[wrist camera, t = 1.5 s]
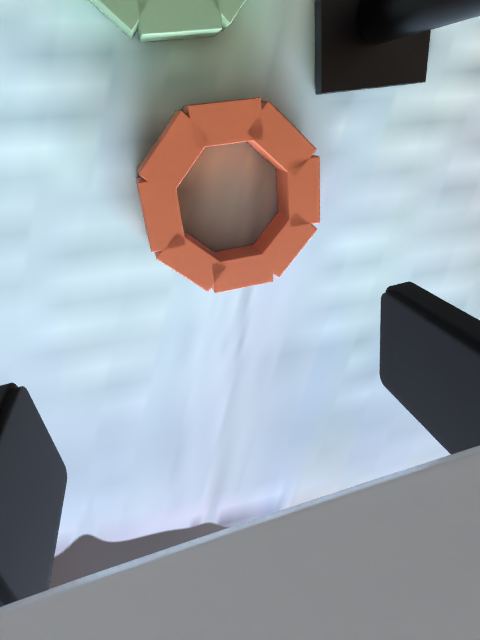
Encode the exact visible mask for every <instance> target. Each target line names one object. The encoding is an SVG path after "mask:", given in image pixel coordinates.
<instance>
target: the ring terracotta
mask: <svg viewBox="0 0 480 640" xmlns="http://www.w3.org/2000/svg"><path fill="white" fill-rule="evenodd" d="M183 111H184V112H183ZM183 111H181V110H180V111H176V112H175V113H174V115H173V116H172V118H171V119H170V121H169V122H168V124H167V125H166V127H165V128H164V130H163V131H162V133H161V134H160V136H159V137H158V139H157V140H156V142H155V143H154V145H153V146H152V148H151V150H150V151H149V153H148V154H147V156H146V157H145V159H144V160H143V162H142V163H141V165H140V166H139V168H138V169H137V171H138V174H139V175H140V176H141V177H137V178H136V182H137V187H138V192H139V197H140V201H141V206H142V211H143V215H144V220H145V225H146V229H147V234H148V239H149V243H150V248H151V252H155V255H156V259H158V260H159V261H161V262H162V263H164V264H165V265H167V266H169V267H170V268H172V269H173V270H175V271H176V272H178V273H179V274H181V275H183V276H184V277H186V278H187V279H189V280H190V281H192V282H193V283H195V284H197V285H198V286H200V287H201V288H203V289H204V290H206V291H208V292H209V290H210V289H211V288H212V289H213V290H214V292H215V293H218V292H223V291H228V290H233V289H238V288H243V287H248V286H253V285H258V284H263V283H268V282H273V274H274V275H275V276H277V277H280V276H281V274H282V273H283V272H284V271H285V269H286V268H287V267H288V266H289V264H290V263H291V262H292V261H293V259H294V258H295V257H296V256H297V254H298V253H299V252H300V251H301V249H302V248H303V247H304V246H305V244H306V243H307V242H308V241H309V239H310V238H311V237H312V236H313V234H314V233H315V232H316V231H317V228H316V227H315V226H313V225H312V224H315V223H320V160H319V156H315V155H313V153H314V152H315V151H316V148H315V147H314V146H313V145H312V144H311V143H310V142H309V141H308V140H307V139H306V138H305V137H304V136H303V135H302V134H301V133H300V132H299V131H298V130H297V129H296V128H295V127H294V126H293V125H292V124H291V123H290V122H289V121H288V120H287V119H286V118H285V117H284V116H283V115H282V114H281V113H280V112H279V111H278V110H277V109H276V108H275V107H274V106H273V105H272V104H271V102H270V101H261V98H260V97H259V98H250V99H241V100H232V101H223V102H214V103H205V104H196V105H188V106H183ZM240 142H247V143H249V144H250V145H251V146H252V147H253V148H254V149H255V150H256V151H257V152H258V153H259V154H261V155H262V156H263V157H264V158H265V159H266V160H267V161H268V162H269V163H270V164H272V165H273V166H274V167H275V168H276V179H277V197H278V213H277V214H276V216H275V217H274V218H273V220H272V221H271V222H270V223H269V225H268V226H267V227H266V229H265V230H264V231H263V233H262V234H261V235H260V237H259V238H258V239H257V241H256V242H255V243H254V244H253V245H249V246H244V247H238V248H233V249H227V250H222V251H216V252H213V251H212V250H210V249H209V248H208V247H206V246H205V245H203V244H202V243H200V242H199V241H198V240H196V239H195V238H193V237H192V236H191V235H189V234H188V233H186V232H185V231H184V230H183V224H182V218H181V212H180V206H179V200H178V194H177V187H178V186H179V184H180V183H181V181H182V180H183V178H184V177H185V176H186V174H187V173H188V171H189V170H190V168H191V167H192V165H193V164H194V163H195V161H196V160H197V158H198V157H199V155H200V154H201V152H202V151H203V150H204V148H205V147H209V146H217V145H225V144H232V143H240Z"/></svg>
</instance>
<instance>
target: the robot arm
mask: <svg viewBox="0 0 480 640" xmlns="http://www.w3.org/2000/svg"><path fill="white" fill-rule="evenodd" d="M380 378H381V381H382V383H383V385H384V386H385V387H386V388H387V389H388V390H389V391H390V392H391V393H392V394H393V395H394V396H395V398H396V399H397V400H398V401H399V402H400V403H401V404H402V405H403V406H404V407H405V408H406V409H407V410H408V411H409V412H410V413H411V414H412V415H413V416H414V417H415V418H416V419H417V420H418V421H419V422H420V423H421V424H422V425H423V426H424V427H425V428H426V429H427V430H428V431H429V432H430V434H431V435H432V436H433V437H434V438H435V439H436V440H437V441H438V442H439V443H440V444H441V445H442V446H443V447H444V448H445V449H446V450H447V451H448V452H449V453H450V454H451V455H449V456H446V457H443V458H439V459H436V460H433V461H430V462H427V463H424V464H421V465H418V466H415V467H412V468H409V469H406V470H403V471H400V472H396V473H393V474H390V475H387V476H384V477H381V478H378V479H375V480H372V481H369V482H366V483H363V484H360V485H357V486H354V487H351V488H348V489H345V490H342V491H339V492H336V493H333V494H330V495H327V496H324V497H320V498H317V499H314V500H311V501H308V502H305V503H302V504H299V505H296V506H293V507H290V508H287V509H284V510H281V511H278V512H275V513H272V514H269V515H266V516H263V517H260V518H257V519H254V520H251V521H248V522H245V523H242V524H239V525H236V526H233V527H230V528H227V529H225V530H222V531H218V532H216V533H213V534H210V535H207V536H204V537H201V538H198V539H195V540H192V541H189V542H186V543H183V544H180V545H177V546H174V547H171V548H168V549H165V550H162V551H159V552H156V553H153V554H151V555H147V556H144V557H142V558H139V559H136V560H133V561H130V562H127V563H124V564H121V565H118V566H115V567H112V568H109V569H106V570H103V571H100V572H97V573H94V574H92V575H89V576H86V577H83V578H80V579H78V580H75V581H72V582H69V583H66V584H64V585H61V586H58V587H55V588H52V589H50V590H49V584H50V578H51V572H52V566H53V560H54V554H55V548H56V542H57V536H58V530H59V524H60V518H61V512H62V506H63V501H64V495H65V489H66V483H67V472H66V467H65V465H64V463H63V461H62V459H61V457H60V455H59V453H58V451H57V449H56V447H55V445H54V443H53V441H52V439H51V437H50V435H49V433H48V431H47V429H46V427H45V425H44V423H43V421H42V419H41V417H40V415H39V413H38V411H37V409H36V407H35V405H34V403H33V401H32V399H31V397H30V395H29V393H28V391H27V389H26V388H25V387H23V386H21V387H18V386H17V385H16V384H14V383H9V384H5V385H1V386H0V640H480V321H479V320H478V319H476V318H474V317H472V316H471V315H469V314H467V313H465V312H464V311H462V310H460V309H458V308H456V307H455V306H453V305H451V304H449V303H448V302H446V301H444V300H442V299H440V298H439V297H437V296H435V295H433V294H432V293H430V292H428V291H426V290H425V289H423V288H421V287H419V286H417V285H416V284H414V283H412V282H405V283H401V284H397V285H393V286H389V287H388V288H387V290H386V293H384V294H382V297H381V324H380Z"/></svg>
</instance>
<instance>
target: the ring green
mask: <svg viewBox="0 0 480 640" xmlns="http://www.w3.org/2000/svg"><path fill="white" fill-rule="evenodd" d="M89 1H90V2H91V3H92V4H93V5H94V6H95V7H96V8H98V9H99V10H100V11H101V12H102V13H103V14H104V15H105V16H106V17H107V18H109V19H110V20H111V21H112V22H113V23H114V24H115V25H116V26H117V27H118V28H120V29H121V30H122V31H123V32H124V33H125V34H126V35H127V36H128V37H129V38H132V37H133V35H134V34H135V32H136V30H138V36H139V41H140V42H150V41H162V40H174V39H187V38H199V37H211V36H215V35H216V34H217V33H218V32H219V31H222V30H224V29H225V28H226V27H227V26H228V25H229V24H231V22H232V21H233V19H234V18H235V16H236V15H237V13H238V12H239V10H240V9H241V7H242V6H243V4H244V3H245V1H246V0H89Z"/></svg>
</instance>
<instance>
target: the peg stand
mask: <svg viewBox="0 0 480 640" xmlns="http://www.w3.org/2000/svg"><path fill="white" fill-rule="evenodd" d="M477 16H480V0H315V67H316V94H317V95H318V94H327V93H336V92H344V91H353V90H362V89H371V88H379V87H388V86H397V85H406V84H414V83H423V82H425V81H426V72H427V62H428V52H429V42H430V32H431V29H435V28H438V27H442V26H445V25H449V24H452V23H456V22H459V21H463V20H466V19H470V18H473V17H477Z"/></svg>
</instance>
